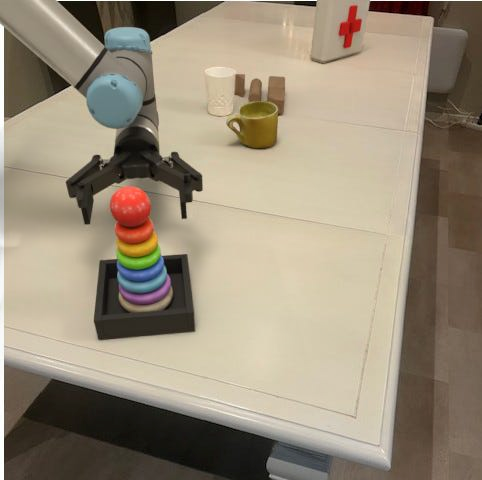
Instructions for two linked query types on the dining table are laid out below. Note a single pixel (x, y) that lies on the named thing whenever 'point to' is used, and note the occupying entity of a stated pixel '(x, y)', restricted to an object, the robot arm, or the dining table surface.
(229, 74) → the white cup
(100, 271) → the socket pad
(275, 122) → the mug
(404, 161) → the dining table surface
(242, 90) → the wooden block set
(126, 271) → the stacking toy
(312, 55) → the bevelled white case
